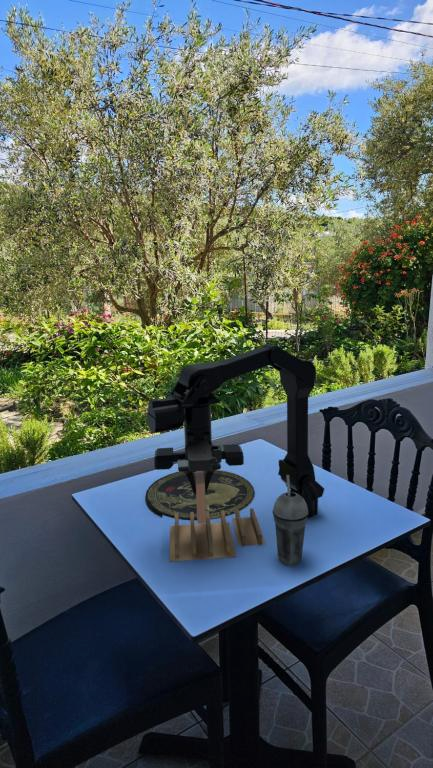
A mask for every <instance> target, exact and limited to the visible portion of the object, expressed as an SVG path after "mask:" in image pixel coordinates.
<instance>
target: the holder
mask: <svg viewBox="0 0 433 768" xmlns="http://www.w3.org/2000/svg"><path fill="white" fill-rule="evenodd" d="M232 524H233V527H234V533H235V538H236V542H237V546H238V547H250V546H261V545H262V546H263V545H264V546H265V545H266V541H265V538H264V535H263V533H262V530H261V526H260V523H259V520H258V518H257V516H256V512H255V510H254V508H252V507H251V508H249V517H241V513H240V511H239V509H235V515H234V518H232Z"/></svg>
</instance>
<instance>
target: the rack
mask: <svg viewBox="0 0 433 768" xmlns="http://www.w3.org/2000/svg"><path fill="white" fill-rule="evenodd" d="M179 520H180V519H178V513H175V518H174V525H170V527H169V529H170V530H169V558H168V559H169V563H170V562H182V561H184V562H185V561H201V560H216V559H217V560H218V559H227V558H228V559H229V558H230V559H231V558H237V554H236V548H235V545H234V540H233V535H232V530H231V527H230V522H229V521H227V518H226V517H225V513H224V510H221V518H220V522H214V523H213V522H211V520H210V516H209V511H206V523H201V524H198V523H195V521H194V512H190V520H189V521H190V524H179V522H180V521H179Z"/></svg>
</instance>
